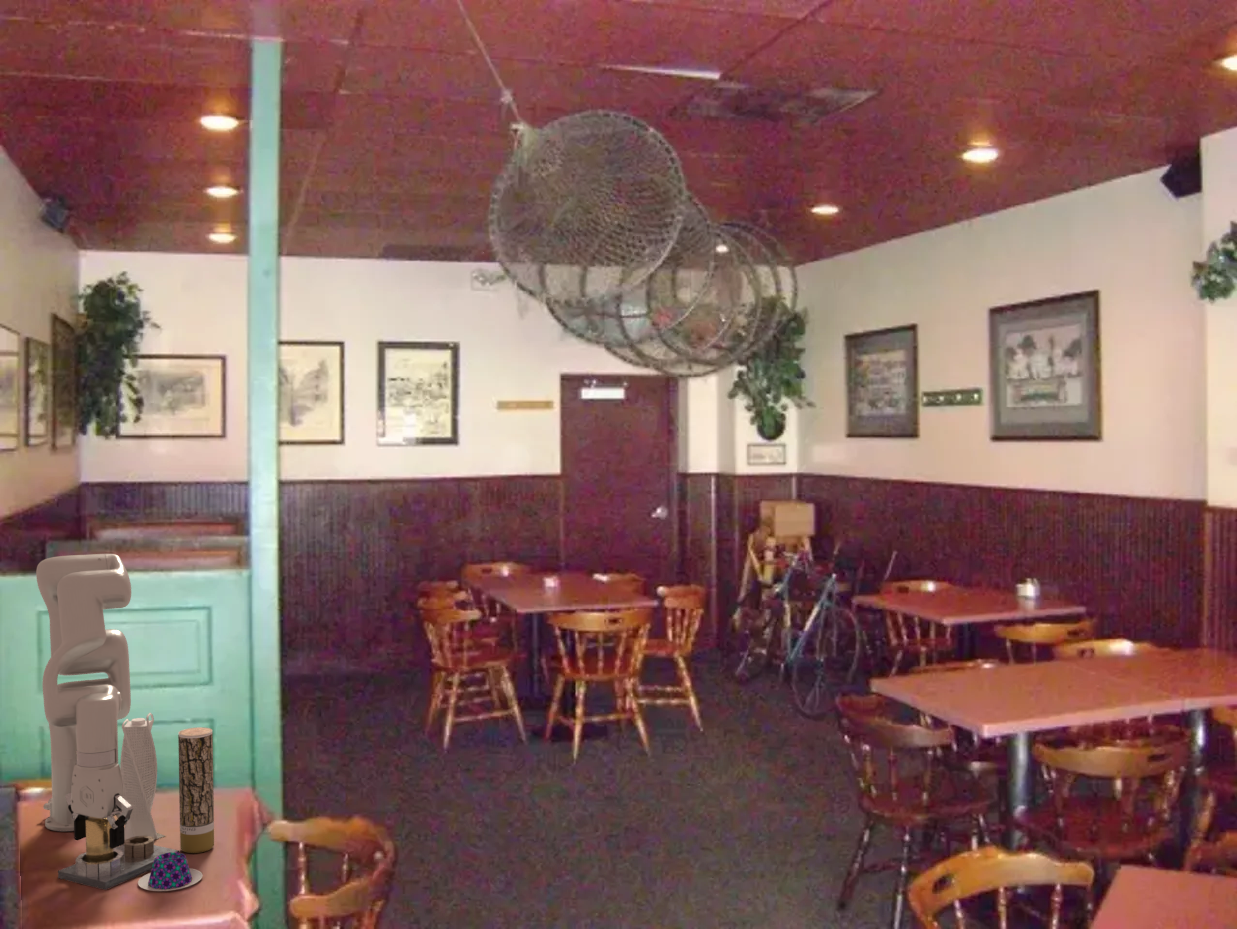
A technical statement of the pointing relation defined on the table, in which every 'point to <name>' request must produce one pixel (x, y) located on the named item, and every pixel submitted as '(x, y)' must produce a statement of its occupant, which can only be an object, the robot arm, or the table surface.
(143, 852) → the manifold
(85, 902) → the table surface
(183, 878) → the pudding
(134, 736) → the skyscraper
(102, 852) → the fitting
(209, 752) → the paper tube
